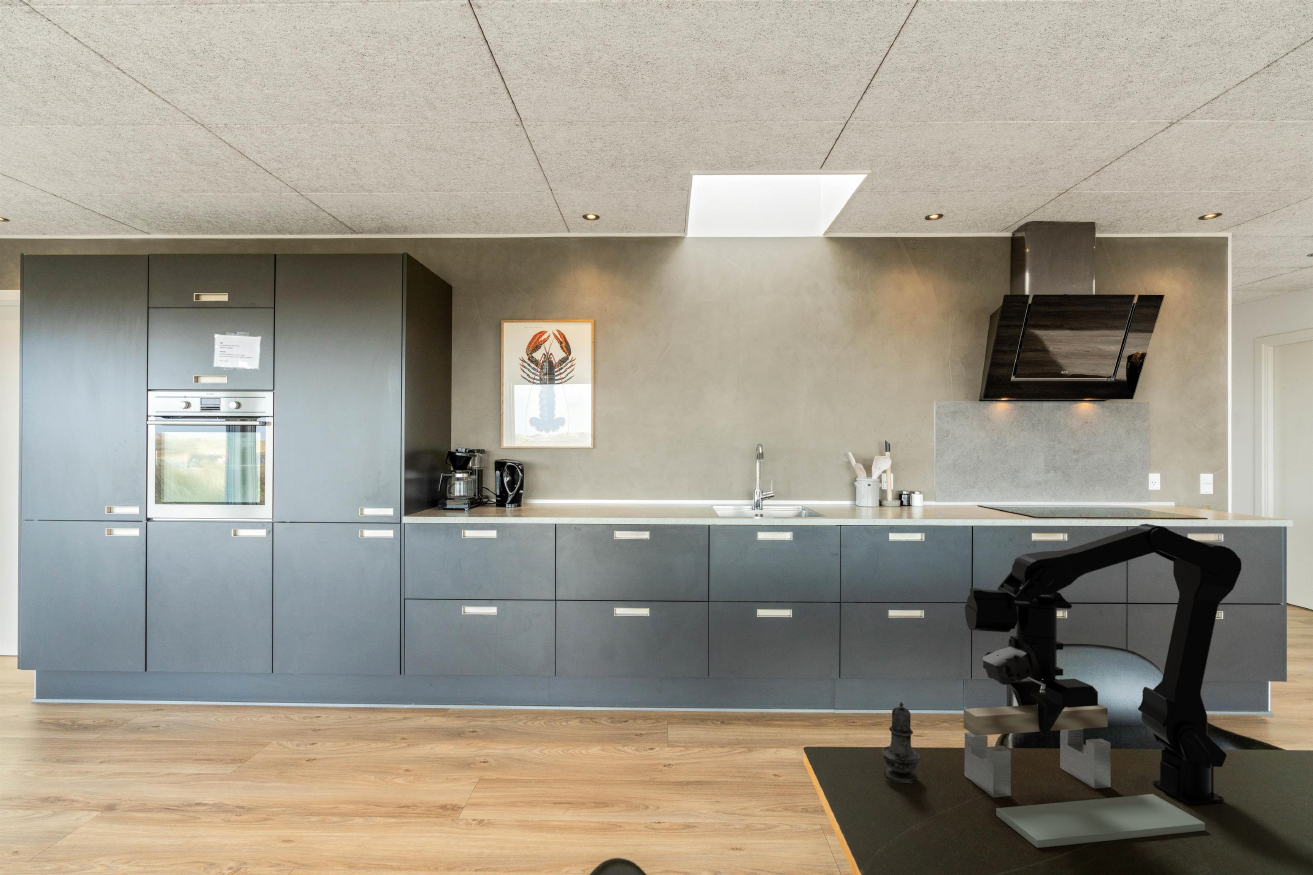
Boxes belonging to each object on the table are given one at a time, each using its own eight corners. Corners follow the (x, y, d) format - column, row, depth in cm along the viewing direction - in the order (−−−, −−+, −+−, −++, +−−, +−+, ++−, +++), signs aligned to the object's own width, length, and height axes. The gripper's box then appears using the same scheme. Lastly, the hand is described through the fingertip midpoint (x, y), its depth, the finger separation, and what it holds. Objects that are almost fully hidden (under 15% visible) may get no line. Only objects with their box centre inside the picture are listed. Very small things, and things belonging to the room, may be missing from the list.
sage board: (1152, 800, 101) (1152, 793, 101) (1204, 830, 93) (1204, 822, 93) (996, 815, 96) (996, 808, 96) (1037, 847, 88) (1037, 840, 88)
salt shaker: (923, 786, 104) (923, 710, 104) (884, 782, 105) (885, 706, 105) (916, 769, 110) (916, 696, 110) (879, 765, 111) (880, 693, 111)
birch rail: (1092, 719, 110) (1092, 701, 110) (1107, 726, 107) (1107, 708, 107) (963, 727, 106) (963, 708, 106) (975, 735, 103) (975, 716, 103)
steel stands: (1075, 766, 111) (1075, 724, 112) (1110, 786, 105) (1110, 742, 105) (964, 775, 108) (964, 732, 108) (993, 797, 101) (993, 751, 101)
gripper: (955, 620, 114) (955, 710, 114) (1035, 652, 96) (1035, 760, 96) (1012, 618, 116) (1012, 707, 116) (1101, 649, 98) (1101, 755, 98)
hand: (1036, 730), depth 106 cm, fingers closed on birch rail, 3 cm apart
